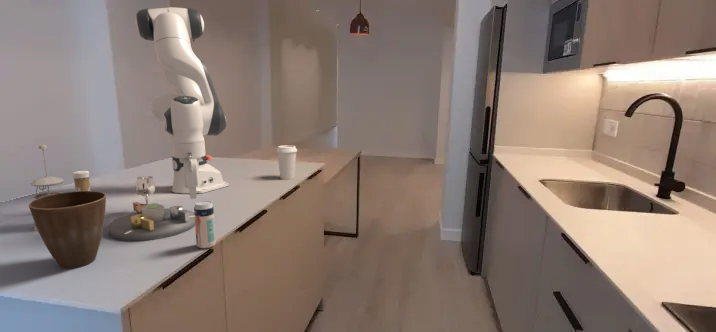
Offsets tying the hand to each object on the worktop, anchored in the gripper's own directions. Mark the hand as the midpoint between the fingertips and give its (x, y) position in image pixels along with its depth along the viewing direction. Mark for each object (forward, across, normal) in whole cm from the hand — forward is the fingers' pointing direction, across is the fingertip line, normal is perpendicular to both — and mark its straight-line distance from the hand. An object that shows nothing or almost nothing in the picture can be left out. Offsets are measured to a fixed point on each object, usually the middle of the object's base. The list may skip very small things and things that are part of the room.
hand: (193, 193), depth 128 cm
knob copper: (+7, +7, +16) cm, 19 cm away
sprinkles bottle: (+10, +25, +35) cm, 44 cm away
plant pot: (+8, -23, +27) cm, 36 cm away
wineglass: (+10, +16, +15) cm, 24 cm away
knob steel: (+7, -3, +4) cm, 8 cm away
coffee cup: (+11, +52, -40) cm, 66 cm away
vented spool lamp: (+9, +10, +41) cm, 43 cm away
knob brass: (+6, -8, +14) cm, 17 cm away
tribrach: (+9, -1, +12) cm, 15 cm away
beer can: (+9, -22, -3) cm, 24 cm away
